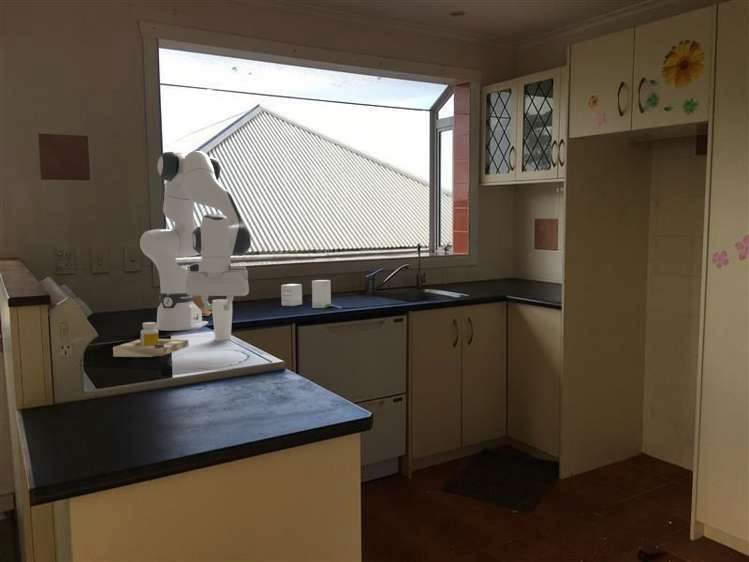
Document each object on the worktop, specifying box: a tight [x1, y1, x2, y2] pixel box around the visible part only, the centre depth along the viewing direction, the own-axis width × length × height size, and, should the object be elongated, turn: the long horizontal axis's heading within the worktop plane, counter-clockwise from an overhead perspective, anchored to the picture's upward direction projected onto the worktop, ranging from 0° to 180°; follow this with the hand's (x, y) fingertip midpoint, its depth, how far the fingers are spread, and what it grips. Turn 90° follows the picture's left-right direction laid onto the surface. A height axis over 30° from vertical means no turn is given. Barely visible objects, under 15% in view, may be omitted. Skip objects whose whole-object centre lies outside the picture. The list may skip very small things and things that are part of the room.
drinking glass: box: [211, 298, 233, 342], centre depth 221 cm, size 7×7×15 cm
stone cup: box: [192, 296, 212, 317], centre depth 289 cm, size 15×12×15 cm
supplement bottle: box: [140, 321, 159, 346], centre depth 205 cm, size 5×5×10 cm
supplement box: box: [280, 283, 303, 307], centre depth 314 cm, size 7×7×13 cm
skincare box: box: [311, 279, 332, 309], centre depth 301 cm, size 8×7×16 cm
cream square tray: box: [112, 338, 189, 358], centre depth 205 cm, size 17×17×4 cm
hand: (217, 310), depth 201 cm, fingers open, 5 cm apart
